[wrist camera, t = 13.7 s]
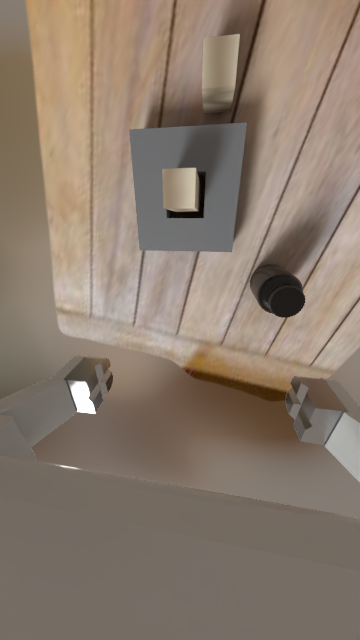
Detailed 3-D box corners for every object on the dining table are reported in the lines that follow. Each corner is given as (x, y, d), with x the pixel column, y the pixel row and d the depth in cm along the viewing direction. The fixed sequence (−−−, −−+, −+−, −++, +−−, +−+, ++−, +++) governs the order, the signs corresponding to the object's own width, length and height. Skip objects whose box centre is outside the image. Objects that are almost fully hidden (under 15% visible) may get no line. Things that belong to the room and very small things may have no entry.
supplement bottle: (280, 257, 36) (309, 271, 25) (289, 289, 38) (319, 314, 28) (244, 273, 38) (256, 292, 28) (255, 302, 41) (270, 330, 30)
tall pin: (200, 185, 33) (195, 167, 22) (199, 212, 35) (194, 207, 24) (177, 186, 33) (162, 168, 23) (177, 212, 35) (163, 207, 25)
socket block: (241, 137, 29) (247, 122, 25) (229, 248, 37) (231, 251, 32) (140, 142, 31) (129, 129, 27) (148, 247, 39) (139, 249, 34)
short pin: (234, 71, 27) (240, 33, 21) (230, 111, 28) (235, 85, 23) (204, 74, 27) (203, 38, 22) (203, 113, 29) (201, 88, 24)
